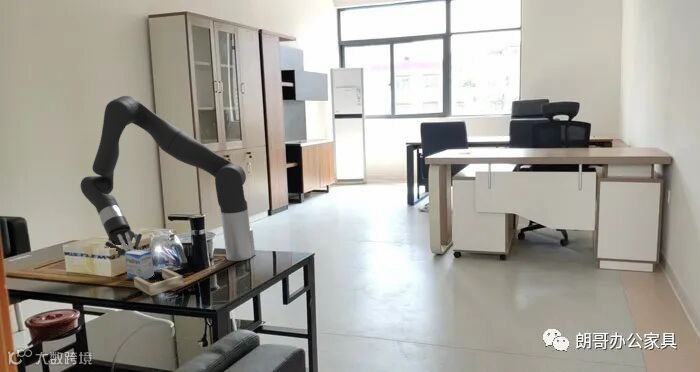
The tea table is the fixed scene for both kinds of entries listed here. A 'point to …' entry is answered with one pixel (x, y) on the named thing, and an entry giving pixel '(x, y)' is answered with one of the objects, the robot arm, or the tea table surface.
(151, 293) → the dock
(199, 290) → the tea table surface
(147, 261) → the medicine box
